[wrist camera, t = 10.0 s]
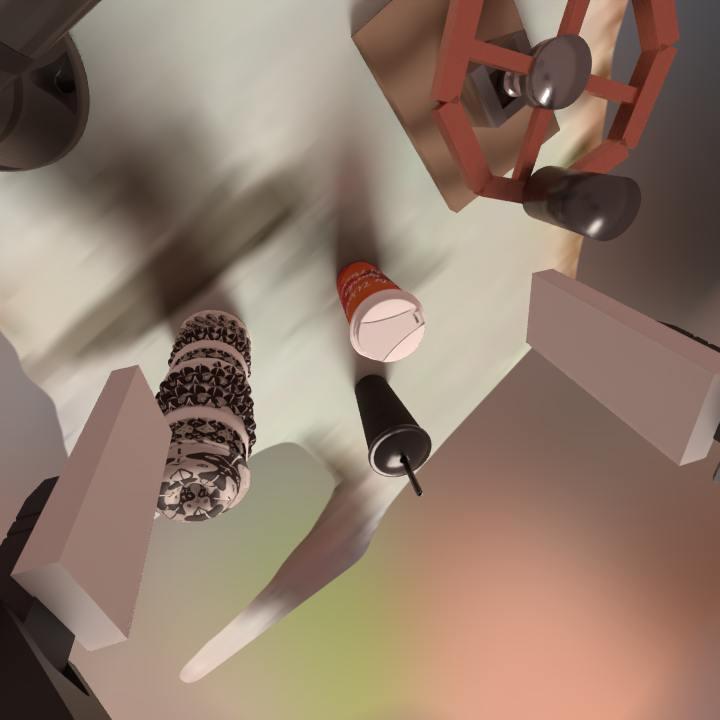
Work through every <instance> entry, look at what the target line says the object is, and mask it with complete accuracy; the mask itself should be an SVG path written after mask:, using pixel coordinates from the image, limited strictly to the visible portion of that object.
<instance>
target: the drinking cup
mask: <svg viewBox="0 0 720 720" xmlns="http://www.w3.org/2000/svg"><path fill="white" fill-rule="evenodd" d="M355 395H356V399H357V403H358V407H359V412H360V416H361V420H362V424H363V429H364V433H365V437H366V441H367V445H368V450H369V453H368V459H369V463H370V465H371V467H372V468H373V470H374V471H375V472H377V473H378V474H380V475H383V476H386V477H399V476H403V475H408V477H409V479H410V481H411V483H412V485H413V488H414V490H415V492H416V494H417V496H422V495H423V492H422V490H421V488H420V486H419V483H418V481H417V479H416V477H415V475H414V473H413V471H415V470H416V469H418V468H419V467H420V466H421V465H422V464H423V463H424V462H425V461H426V460H427V458H428V456H429V454H430V452H431V439H430V437H429V435H428V434H427V432H426V431H425V430H424V429H422V428H421V427H420V426H419V425H418V424H417V422H416V421H415V420H414V418H413V417H412V416H411V414H410V413H409V411H408V410H407V409H406V407H405V406H404V405H403V403H402V402H401V401H400V399H399V398H398V397H397V395H396V394H395V393H394V391H393V390H392V388H391V387H390V386H389V384H388V383H387V382H386V380H385V379H384V378H383V377H381V376H378V375H369V376H366V377H364V378H363V379H361V380H360V381H359V382H358V384H357V385H356V388H355Z"/></svg>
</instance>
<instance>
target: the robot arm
mask: <svg viewBox="0 0 720 720" xmlns="http://www.w3.org/2000/svg"><path fill="white" fill-rule="evenodd" d="M100 1H101V0H0V171H3V172H18V171H26V170H31V169H36V168H40V167H43V166H47V165H49V164H52V163H54V162H56V161H58V160H59V159H61V158H63V157H64V156H65V155H67V154H68V153H69V152H70V151H71V150H72V149H73V148H74V147H75V145H76V144H77V143H78V141H79V139H80V138H81V136H82V134H83V132H84V129H85V126H86V123H87V119H88V114H89V88H88V82H87V77H86V73H85V69H84V66H83V63H82V60H81V58H80V56H79V53H78V51H77V49H76V47H75V45H74V43H73V41H72V39H71V37H70V35H69V34H68V31H69V30H70V29H71V28H72V27H73V26H75V25H76V24H77V23H78V22H79V21H80V20H81V19H82V18H83V17H84V16H85V15H86V14H87V13H88V12H90V11H91V10H92V9H93V8H94V7H95V6H96V5H97V4H98V3H99V2H100ZM526 342H527V343H528V344H529V345H530V346H532V347H533V348H534V349H535V350H536V351H538V352H539V353H540V354H541V355H543V356H544V357H545V358H546V359H548V360H549V361H550V362H551V363H553V364H554V365H555V366H556V367H557V368H559V369H560V370H561V371H562V372H564V373H565V374H566V375H567V376H569V377H570V378H571V379H572V380H574V381H575V382H576V383H577V384H579V385H580V386H581V387H582V388H584V389H585V390H586V391H587V392H588V393H590V394H591V395H592V396H593V397H595V398H596V399H597V400H598V401H600V402H601V403H602V404H603V405H604V406H606V407H607V408H608V409H609V410H611V411H612V412H613V413H614V414H616V415H617V416H618V417H619V418H621V419H622V420H623V421H624V422H625V423H627V424H628V425H629V426H630V427H632V428H633V429H634V430H635V431H637V432H638V433H639V434H640V435H642V436H643V437H644V438H645V439H647V440H648V441H649V442H650V443H651V444H653V445H654V446H655V447H656V448H658V449H659V450H660V451H661V452H663V453H664V454H665V455H666V456H667V457H669V458H670V459H671V460H672V461H674V462H675V463H676V464H678V465H679V466H681V465H684V464H687V463H690V462H693V461H696V460H699V459H703V458H706V456H707V453H708V451H709V448H710V446H711V444H712V442H713V440H714V439H715V440H717V441H718V442H720V348H719V347H717V346H715V345H713V344H708V342H707V341H705V340H703V339H701V338H699V337H694V336H693V334H691V333H689V332H686V331H685V330H683V329H680V328H678V327H677V326H674V325H670V324H667V323H663V322H659V321H655V320H653V319H651V318H649V317H647V316H645V315H643V314H641V313H639V312H637V311H635V310H633V309H631V308H629V307H627V306H625V305H623V304H621V303H619V302H617V301H615V300H614V299H611V298H610V297H608V296H606V295H603V294H602V293H600V292H598V291H596V290H594V289H592V288H590V287H588V286H586V285H584V284H582V283H580V282H578V281H576V280H574V279H572V278H570V277H568V276H566V275H564V274H562V273H560V272H558V271H556V270H554V269H549V270H545V271H540V272H536V273H532V283H531V294H530V305H529V317H528V328H527V339H526ZM171 437H172V431H171V429H170V427H169V425H168V423H167V421H166V419H165V417H164V415H163V413H162V411H161V409H160V407H159V405H158V403H157V401H156V399H155V397H154V395H153V393H152V391H151V389H150V387H149V385H148V383H147V381H146V379H145V377H144V375H143V373H142V371H141V369H140V367H139V365H136V366H131V367H127V368H123V369H118V370H114V371H112V372H111V374H110V376H109V378H108V380H107V382H106V384H105V386H104V388H103V390H102V392H101V394H100V396H99V398H98V400H97V402H96V404H95V406H94V408H93V410H92V412H91V414H90V416H89V418H88V420H87V422H86V425H85V427H84V429H83V431H82V433H81V435H80V437H79V439H78V441H77V443H76V445H75V447H74V449H73V451H72V453H71V455H70V457H69V459H68V461H67V463H66V465H65V467H64V469H63V471H62V473H61V475H60V476H58V477H53V478H50V479H46V480H44V481H43V482H42V483H41V484H40V485H39V486H38V487H37V489H35V490H34V491H33V493H32V494H31V495H30V496H29V497H28V498H27V499H26V500H25V502H24V504H23V506H22V508H21V510H20V511H19V513H18V515H17V517H16V522H13V524H12V526H11V528H10V529H9V531H8V533H7V538H5V539H4V540H3V542H2V544H1V546H0V720H112V719H111V718H110V716H109V715H108V713H107V712H106V710H105V709H104V707H103V706H102V705H101V703H100V702H99V700H98V699H97V697H96V696H95V694H94V693H93V691H92V690H91V688H90V687H89V685H88V684H87V682H86V681H85V680H84V678H83V677H82V675H81V674H80V672H79V671H78V669H77V668H76V666H75V665H74V664H72V663H71V662H70V661H69V660H68V658H69V655H70V651H71V648H72V645H73V642H74V639H76V640H77V641H79V642H80V643H81V644H82V645H83V646H84V647H85V648H86V649H87V650H88V651H92V650H96V649H99V648H102V647H106V646H109V645H112V644H115V643H118V642H121V641H125V640H128V637H129V633H130V627H131V623H132V619H133V614H134V609H135V605H136V599H137V595H138V591H139V586H140V581H141V577H142V572H143V567H144V563H145V558H146V553H147V549H148V544H149V539H150V535H151V530H152V525H153V521H154V516H155V511H156V507H157V502H158V497H159V493H160V488H161V483H162V479H163V474H164V469H165V465H166V460H167V455H168V451H169V446H170V442H171ZM719 480H720V462H719V464H718V467H717V469H716V471H715V473H714V475H713V482H716V483H718V482H719Z"/></svg>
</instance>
